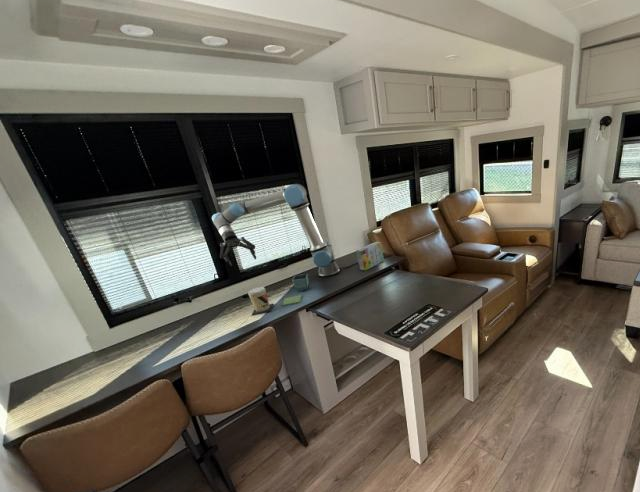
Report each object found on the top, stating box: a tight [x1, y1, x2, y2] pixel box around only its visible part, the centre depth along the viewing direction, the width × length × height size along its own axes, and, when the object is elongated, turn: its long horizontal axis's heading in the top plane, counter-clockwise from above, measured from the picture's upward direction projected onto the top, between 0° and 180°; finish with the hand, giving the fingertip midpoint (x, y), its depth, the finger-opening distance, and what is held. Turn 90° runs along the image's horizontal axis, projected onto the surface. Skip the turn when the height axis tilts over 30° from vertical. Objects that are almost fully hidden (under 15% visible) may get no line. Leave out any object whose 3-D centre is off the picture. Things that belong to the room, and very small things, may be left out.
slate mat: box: [251, 303, 275, 316], centre depth 183 cm, size 10×10×1 cm
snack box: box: [355, 241, 385, 272], centre depth 228 cm, size 21×6×15 cm, turn 141°
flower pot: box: [291, 273, 310, 292], centre depth 203 cm, size 9×9×9 cm
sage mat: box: [281, 294, 303, 307], centre depth 189 cm, size 10×10×1 cm
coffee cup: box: [247, 286, 270, 312], centre depth 180 cm, size 9×9×12 cm
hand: (244, 261), depth 185 cm, fingers open, 13 cm apart
